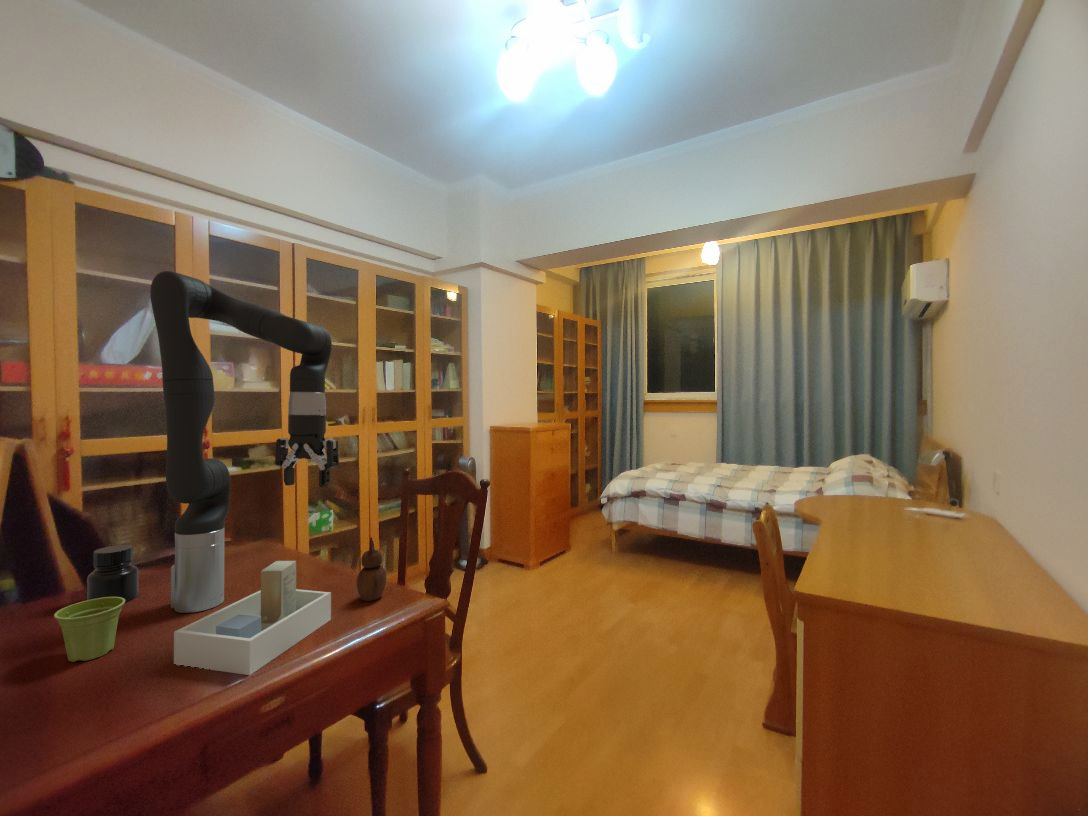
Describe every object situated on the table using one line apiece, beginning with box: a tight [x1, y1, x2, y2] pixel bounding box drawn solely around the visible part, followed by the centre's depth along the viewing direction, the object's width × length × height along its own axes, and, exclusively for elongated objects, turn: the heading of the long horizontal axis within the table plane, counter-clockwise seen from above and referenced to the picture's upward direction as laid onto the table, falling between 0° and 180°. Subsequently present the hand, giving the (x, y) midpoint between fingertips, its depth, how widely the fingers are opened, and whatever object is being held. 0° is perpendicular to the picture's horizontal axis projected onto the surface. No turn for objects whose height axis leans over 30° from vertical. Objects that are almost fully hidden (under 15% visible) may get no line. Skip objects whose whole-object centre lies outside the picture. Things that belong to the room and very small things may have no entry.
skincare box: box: [260, 560, 297, 631], centre depth 98 cm, size 6×4×12 cm
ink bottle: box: [86, 544, 139, 603], centre depth 111 cm, size 10×9×12 cm
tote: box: [173, 588, 332, 676], centre depth 93 cm, size 16×22×6 cm
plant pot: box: [53, 597, 126, 663], centre depth 87 cm, size 9×9×9 cm
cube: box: [216, 615, 261, 638], centre depth 88 cm, size 5×5×5 cm
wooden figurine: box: [356, 537, 387, 602], centre depth 113 cm, size 7×6×15 cm
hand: (306, 485), depth 105 cm, fingers open, 8 cm apart
